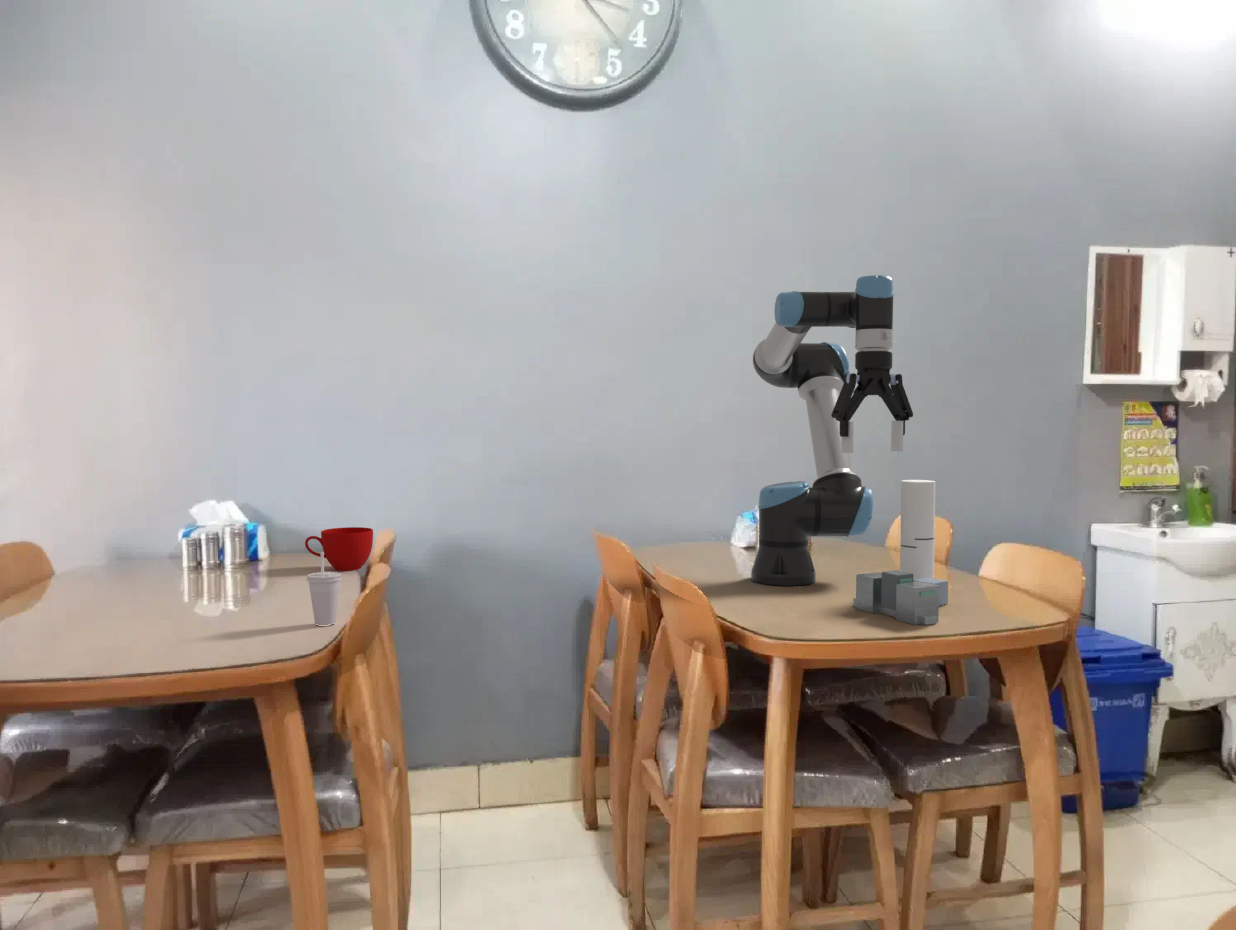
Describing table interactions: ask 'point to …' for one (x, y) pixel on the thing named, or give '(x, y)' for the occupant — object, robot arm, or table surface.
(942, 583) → the loose block slate
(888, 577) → the block
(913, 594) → the grey stepped block assembly
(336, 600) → the smoothie
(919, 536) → the cylindrical container
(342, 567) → the ceramic cup
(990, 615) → the table surface
